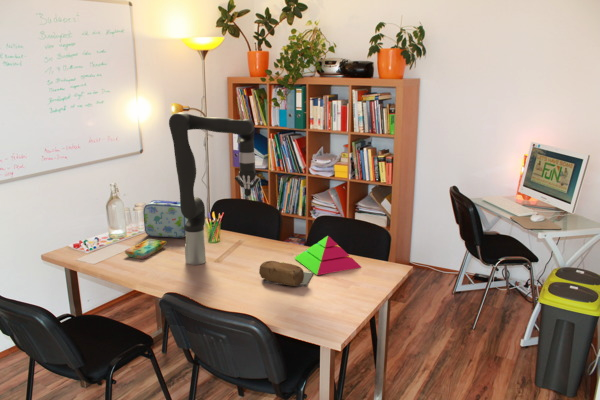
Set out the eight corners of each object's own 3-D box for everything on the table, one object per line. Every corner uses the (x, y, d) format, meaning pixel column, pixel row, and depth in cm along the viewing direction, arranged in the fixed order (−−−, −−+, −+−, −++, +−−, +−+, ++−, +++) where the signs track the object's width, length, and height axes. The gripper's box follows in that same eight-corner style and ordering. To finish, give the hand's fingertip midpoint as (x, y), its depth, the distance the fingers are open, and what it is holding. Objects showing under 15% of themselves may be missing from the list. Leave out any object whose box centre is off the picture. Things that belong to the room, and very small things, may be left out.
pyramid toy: (336, 251, 284) (337, 225, 280) (361, 267, 262) (363, 239, 258) (294, 257, 273) (294, 231, 269) (316, 275, 251) (317, 246, 247)
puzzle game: (124, 249, 276) (148, 237, 294) (125, 257, 277) (149, 245, 295) (143, 251, 272) (166, 239, 290) (144, 260, 273) (167, 247, 291)
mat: (263, 282, 245) (263, 281, 245) (273, 269, 260) (273, 268, 260) (306, 286, 240) (306, 285, 240) (313, 272, 255) (313, 271, 255)
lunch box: (193, 233, 313) (191, 199, 308) (186, 239, 303) (184, 204, 298) (151, 231, 318) (149, 197, 312) (143, 237, 307) (140, 202, 302)
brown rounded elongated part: (257, 279, 246) (294, 288, 237) (257, 263, 245) (294, 272, 235) (270, 272, 256) (306, 281, 246) (271, 257, 254) (307, 265, 244)
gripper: (231, 161, 254) (232, 196, 259) (257, 163, 251) (258, 198, 255) (237, 159, 261) (238, 193, 266) (262, 160, 258) (263, 194, 262)
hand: (248, 195), depth 260 cm, fingers closed
